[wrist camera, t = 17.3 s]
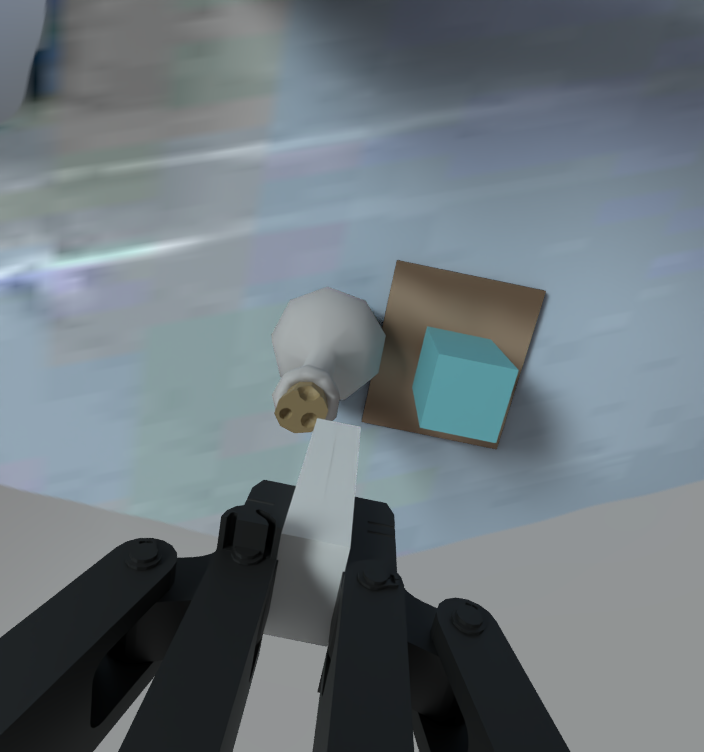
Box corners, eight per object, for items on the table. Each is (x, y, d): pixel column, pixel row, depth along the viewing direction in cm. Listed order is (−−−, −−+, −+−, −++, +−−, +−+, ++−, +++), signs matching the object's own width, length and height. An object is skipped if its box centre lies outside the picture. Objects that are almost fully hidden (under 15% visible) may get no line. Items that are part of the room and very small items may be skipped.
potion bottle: (297, 268, 42) (240, 305, 25) (400, 306, 42) (413, 368, 25) (266, 365, 44) (195, 460, 27) (363, 400, 45) (352, 514, 28)
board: (397, 259, 41) (397, 260, 41) (543, 290, 41) (545, 291, 41) (361, 419, 45) (361, 421, 45) (495, 446, 45) (496, 449, 45)
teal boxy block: (427, 326, 41) (438, 353, 33) (490, 339, 41) (518, 370, 33) (412, 386, 43) (419, 427, 34) (473, 399, 43) (496, 443, 34)
